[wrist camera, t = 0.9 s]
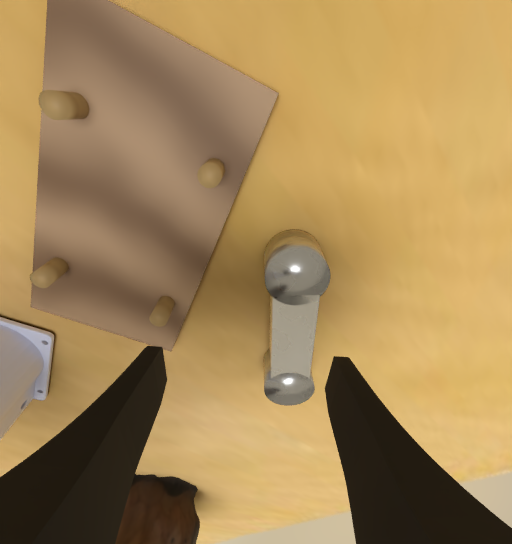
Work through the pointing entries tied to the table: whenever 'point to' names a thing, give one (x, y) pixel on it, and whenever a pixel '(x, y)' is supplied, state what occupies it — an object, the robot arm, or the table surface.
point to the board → (134, 169)
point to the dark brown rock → (159, 512)
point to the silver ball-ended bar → (292, 314)
